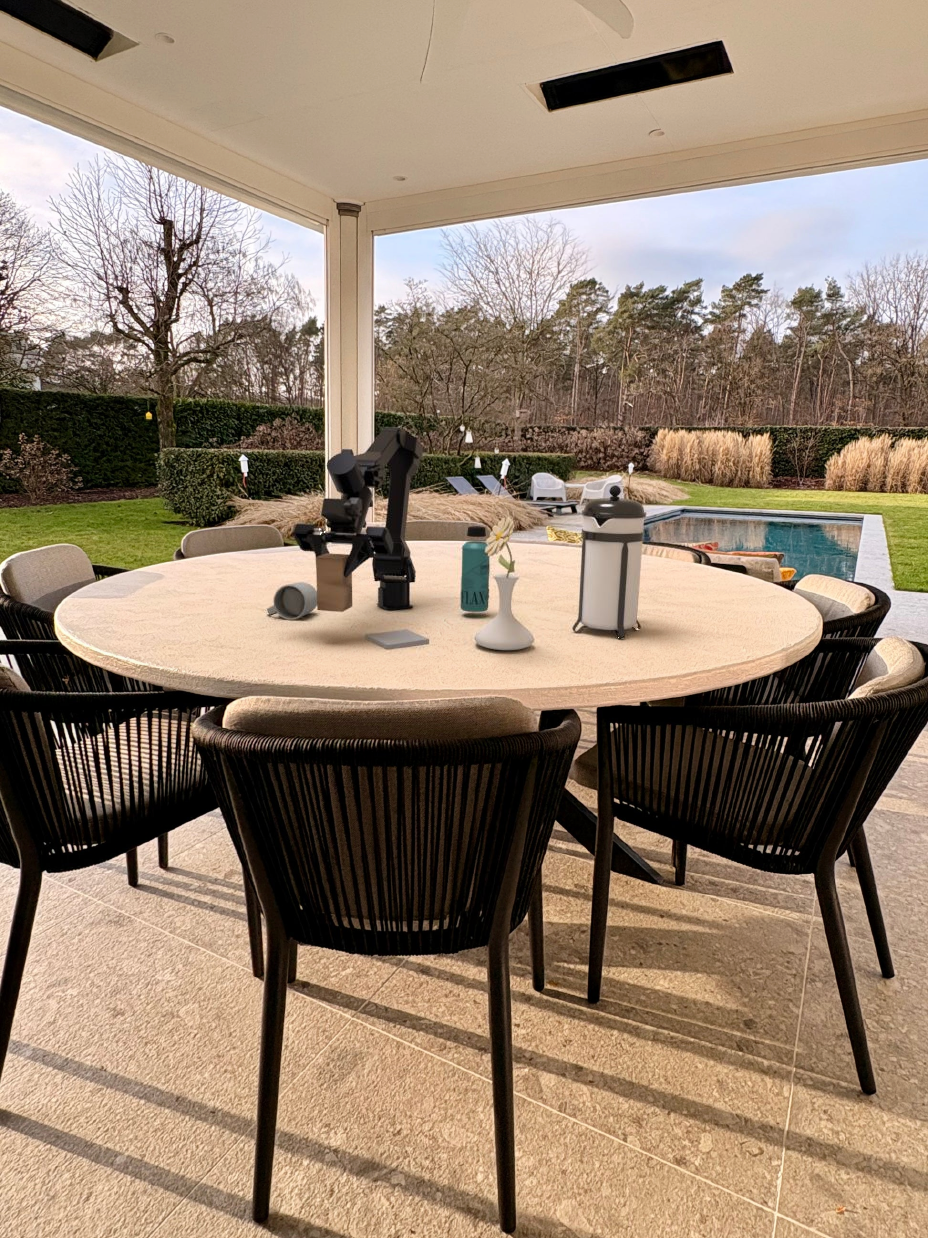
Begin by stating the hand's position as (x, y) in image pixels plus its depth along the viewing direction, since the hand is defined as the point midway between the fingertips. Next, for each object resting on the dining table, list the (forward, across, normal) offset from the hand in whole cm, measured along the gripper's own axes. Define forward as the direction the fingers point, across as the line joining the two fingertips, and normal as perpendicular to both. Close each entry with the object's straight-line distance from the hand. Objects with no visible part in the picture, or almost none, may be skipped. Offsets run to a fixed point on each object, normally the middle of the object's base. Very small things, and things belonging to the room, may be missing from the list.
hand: (331, 574), depth 145 cm
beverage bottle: (-14, +20, +33) cm, 41 cm away
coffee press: (-10, +50, +30) cm, 59 cm away
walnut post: (+4, 0, +6) cm, 7 cm away
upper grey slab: (+6, +11, +13) cm, 18 cm away
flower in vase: (+5, +32, +14) cm, 35 cm away
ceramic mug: (-4, -18, +24) cm, 31 cm away
